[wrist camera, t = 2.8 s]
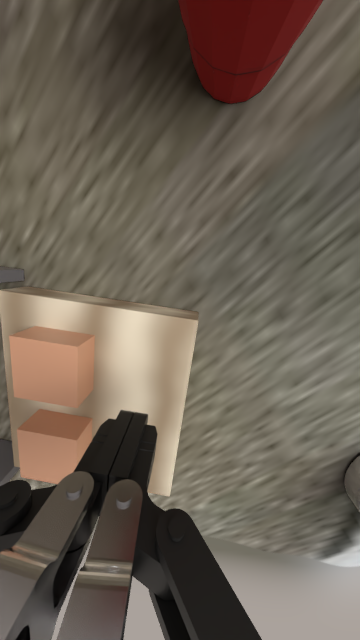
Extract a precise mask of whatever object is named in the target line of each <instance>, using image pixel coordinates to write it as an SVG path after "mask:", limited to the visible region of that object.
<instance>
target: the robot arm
mask: <svg viewBox="0 0 360 640" xmlns="http://www.w3.org/2000/svg"><path fill="white" fill-rule="evenodd" d="M147 423H148V414H145V413H138V412H132V411H126V410H120V412H119V414H118V416H117V418H116V419H110V418H109V419H107V420H106V421H105V422H104V423H103V424H101V425H100V427H99V429H98V431H97V432H96V435H95V436H94V437H93V439H92V442H91V443H90V444H89V446H88V448H87V450H86V451H85V453H84V455H83V456H82V458H81V460H80V462H79V463H78V465H77V467H76V468H75V470H74V472H73V473H71V474H69V475H67V476H66V477H64V478H63V479H62V480H61V481H60V482H59V483H58V485H55V486H52V487H48V488H41V489H35V490H31V487H30V485H29V483H28V482H26V481H23V480H15V481H11V482H8V483H6V484H3V485H2V486H0V640H51V639H52V635H53V632H54V629H55V625H56V621H57V618H58V615H59V612H60V610H61V607H62V605H63V603H64V600H65V598H66V596H67V593H68V591H69V589H70V587H71V584H72V582H73V580H74V577H75V575H76V573H77V571H78V568H79V566H80V564H81V562H82V559H83V557H84V555H85V552H86V550H87V548H88V546H89V543H90V541H91V538H92V532H93V529H94V526H95V524H96V521H97V518H98V516H100V517H99V520H98V524H97V527H96V530H95V533H94V536H93V539H92V543H91V546H90V549H89V552H88V555H87V559H86V562H85V564H84V566H83V567H82V568H81V569H80V571H79V574H78V576H77V579H76V581H75V585H74V587H73V590H72V593H71V597H70V600H69V603H68V606H67V609H66V612H65V615H64V618H63V621H62V624H61V628H60V631H59V634H58V637H57V640H123V638H124V630H125V623H126V616H127V609H128V603H129V596H130V589H131V582H132V576H133V577H135V578H136V579H137V580H138V581H140V582H141V583H142V584H143V585H145V586H146V587H147V588H148V589H149V593H150V597H151V600H152V603H153V606H154V608H155V612H156V614H157V617H158V620H159V623H160V626H161V629H162V632H163V635H164V638H165V640H262V639H261V637H260V636H259V634H258V632H257V630H256V629H255V627H254V625H253V624H252V622H251V620H250V618H249V617H248V615H247V613H246V612H245V610H244V608H243V606H242V605H241V603H240V601H239V600H238V598H237V596H236V594H235V593H234V591H233V589H232V588H231V586H230V584H229V582H228V581H227V579H226V577H225V575H224V574H223V572H222V570H221V568H220V567H219V565H218V563H217V562H216V560H215V558H214V556H213V555H212V553H211V551H210V550H209V548H208V546H207V545H206V543H205V541H204V539H203V538H202V536H201V534H200V532H199V531H198V529H197V527H196V525H195V524H194V522H193V520H192V519H191V517H190V516H189V515H188V514H187V513H186V512H185V511H183V510H180V509H176V508H175V509H169V510H167V511H166V512H165V511H164V510H162V509H161V508H159V507H157V506H156V505H155V504H154V503H153V502H152V501H151V500H150V498H149V496H148V493H147V491H148V487H149V482H150V477H151V472H152V467H153V462H154V458H155V451H156V443H157V435H158V434H157V430H156V426H152V425H147ZM345 489H346V492H347V494H348V495H349V497H350V499H351V500H352V502H353V503H354V505H355V506H356V508H357V509H358V511H359V513H360V456H358V457H357V458H356V459H355V460H354V461H353V462H352V463H351V465H350V466H349V468H348V470H347V472H346V475H345Z"/></svg>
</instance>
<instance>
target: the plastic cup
mask: <svg viewBox="0 0 360 640" xmlns="http://www.w3.org/2000/svg"><path fill="white" fill-rule="evenodd" d="M178 1H179V6H180V11H181V16H182V21H183V23H184V26H185V28H186V31H187V36H188V41H189V46H190V51H191V56H192V61H193V64H194V66H195V69H196V71H197V74H198V76H199V79H200V81H201V84H202V86H203V88H204V89H205V90H206V91H207V92H208V93H209V94H210V95H211V96H212V97H213V98H214V99H217V100H220V101H223V102H226V103H229V104H231V103H237V102H244V101H247V100H248V99H250V98H251V97H253V96H254V95H256V94H257V93H259V92H260V91H261V90H262V89H263V88H264V87H265V86H266V85H267V83H268V82H269V81H270V79H271V78H272V77H273V75H274V74H275V73H276V71H277V70H278V69H279V67H280V65H281V64H282V62H283V61H284V59H285V57H286V56H287V54H288V52H289V51H290V49H291V47H292V46H293V44H294V43H295V41H296V40H297V39H298V37H299V36H300V35H301V33H302V32H303V31H304V29H305V28H306V26H307V25H308V23H309V22H310V20H311V19H312V17H313V15H314V14H315V12H316V11H317V9H318V8H319V6H320V5H321V3H322V1H323V0H178Z"/></svg>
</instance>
